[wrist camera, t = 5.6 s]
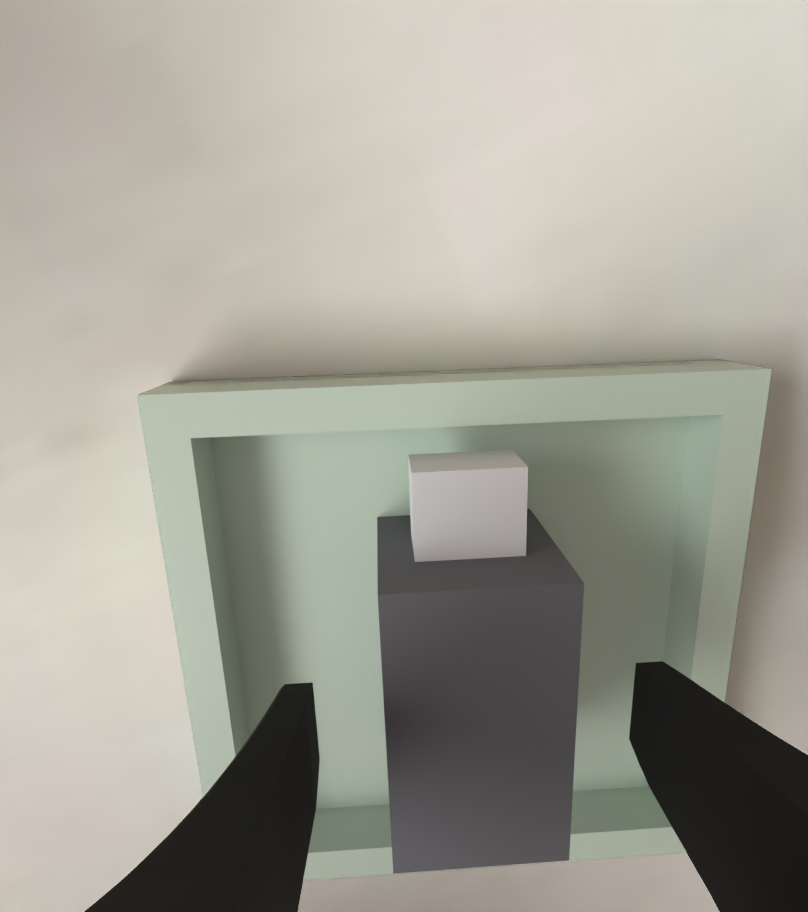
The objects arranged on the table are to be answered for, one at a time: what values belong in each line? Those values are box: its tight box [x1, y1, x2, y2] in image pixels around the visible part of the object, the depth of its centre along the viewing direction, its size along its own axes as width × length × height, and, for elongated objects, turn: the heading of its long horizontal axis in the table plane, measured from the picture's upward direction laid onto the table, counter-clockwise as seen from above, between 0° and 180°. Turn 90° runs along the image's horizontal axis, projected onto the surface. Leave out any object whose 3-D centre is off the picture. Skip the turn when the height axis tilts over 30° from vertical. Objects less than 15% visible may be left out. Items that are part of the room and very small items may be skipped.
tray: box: [137, 360, 772, 881], centre depth 15 cm, size 14×14×2 cm
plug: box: [377, 450, 584, 874], centre depth 13 cm, size 9×4×4 cm, turn 2°
